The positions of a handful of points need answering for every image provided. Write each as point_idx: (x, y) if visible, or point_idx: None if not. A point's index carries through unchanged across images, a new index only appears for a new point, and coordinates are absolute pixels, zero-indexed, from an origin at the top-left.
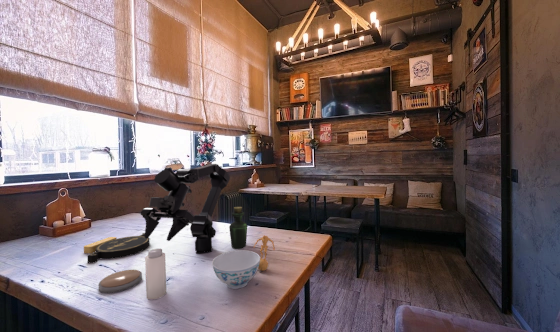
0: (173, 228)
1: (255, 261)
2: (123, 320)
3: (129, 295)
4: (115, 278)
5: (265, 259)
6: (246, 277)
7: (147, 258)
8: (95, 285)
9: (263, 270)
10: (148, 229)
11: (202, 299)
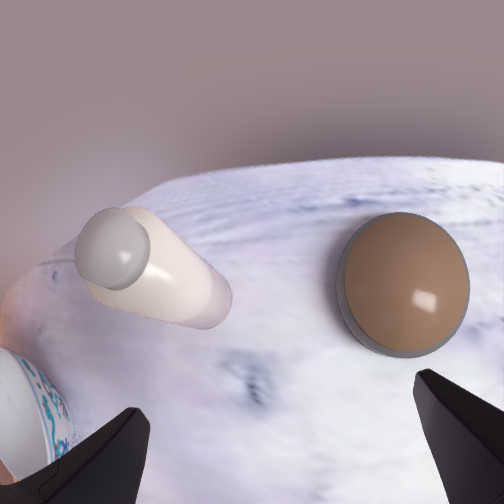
0: (49, 464)
1: (14, 452)
2: (185, 189)
3: (286, 254)
4: (420, 263)
5: None
6: (2, 377)
7: (134, 214)
8: (456, 234)
9: None
10: (461, 434)
11: (78, 328)
